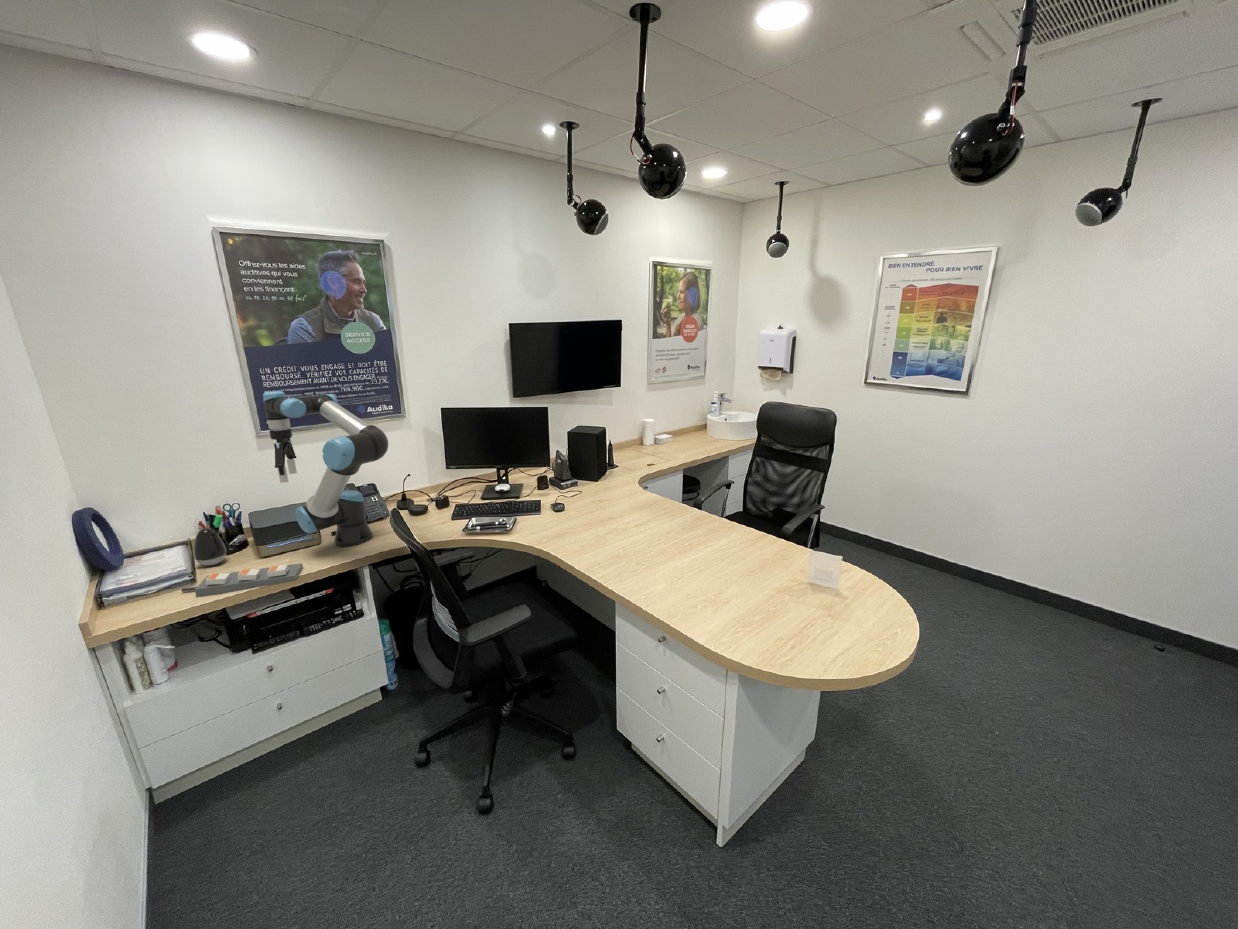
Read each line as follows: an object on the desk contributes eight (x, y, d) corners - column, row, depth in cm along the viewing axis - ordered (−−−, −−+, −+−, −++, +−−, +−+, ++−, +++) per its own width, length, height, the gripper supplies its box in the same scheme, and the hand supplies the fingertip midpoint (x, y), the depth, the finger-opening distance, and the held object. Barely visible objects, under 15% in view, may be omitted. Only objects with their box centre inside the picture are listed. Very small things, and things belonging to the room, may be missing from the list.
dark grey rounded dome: (211, 569, 196) (203, 534, 192) (190, 567, 197) (181, 532, 193) (235, 558, 205) (227, 524, 201) (214, 556, 207) (206, 523, 203)
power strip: (303, 570, 196) (302, 562, 195) (296, 582, 186) (294, 574, 185) (189, 585, 183) (187, 577, 183) (175, 600, 173) (173, 591, 173)
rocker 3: (288, 569, 189) (287, 564, 188) (285, 574, 184) (284, 569, 184) (272, 571, 187) (270, 566, 186) (268, 577, 183) (266, 572, 182)
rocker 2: (260, 574, 186) (260, 569, 185) (255, 580, 181) (255, 574, 181) (242, 574, 184) (242, 568, 183) (237, 580, 179) (237, 574, 179)
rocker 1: (230, 578, 183) (229, 572, 182) (225, 584, 178) (224, 578, 178) (211, 578, 181) (211, 573, 180) (206, 584, 176) (205, 579, 176)
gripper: (278, 424, 214) (286, 470, 219) (259, 435, 191) (269, 486, 197) (298, 423, 216) (306, 469, 222) (281, 434, 194) (291, 485, 199)
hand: (288, 477), depth 209 cm, fingers open, 13 cm apart
